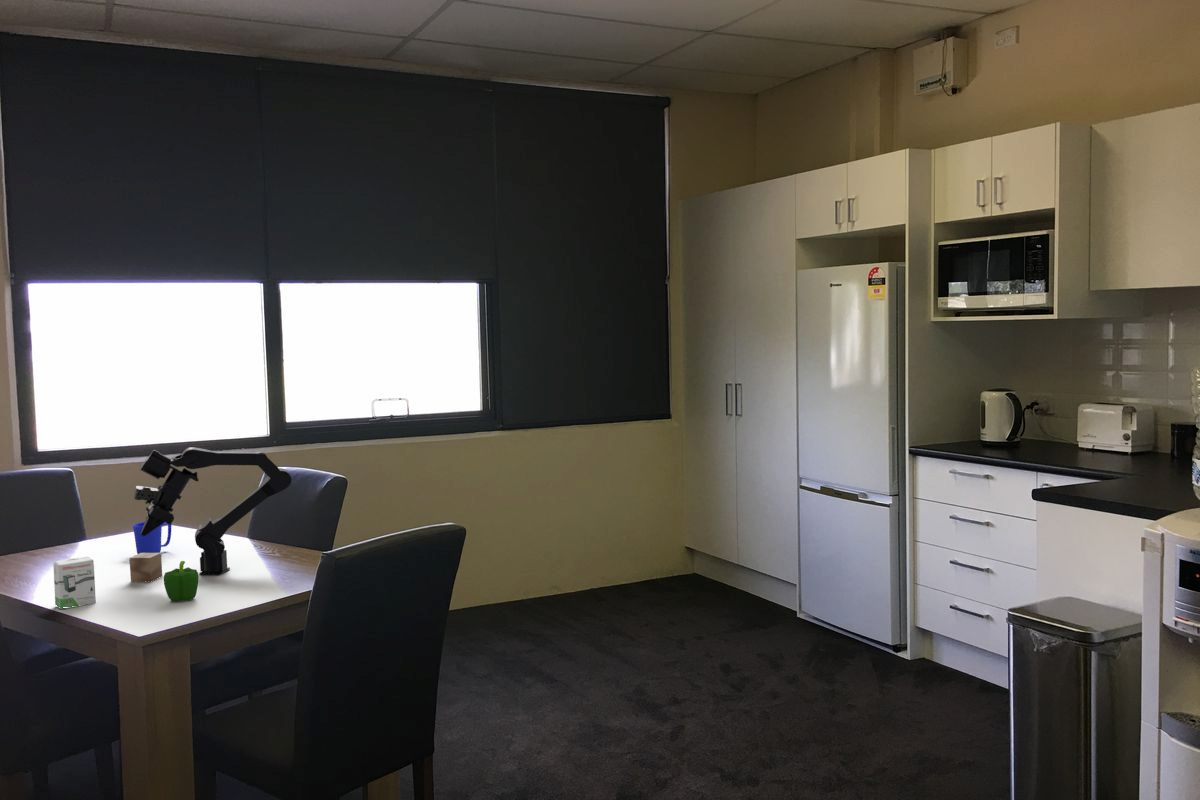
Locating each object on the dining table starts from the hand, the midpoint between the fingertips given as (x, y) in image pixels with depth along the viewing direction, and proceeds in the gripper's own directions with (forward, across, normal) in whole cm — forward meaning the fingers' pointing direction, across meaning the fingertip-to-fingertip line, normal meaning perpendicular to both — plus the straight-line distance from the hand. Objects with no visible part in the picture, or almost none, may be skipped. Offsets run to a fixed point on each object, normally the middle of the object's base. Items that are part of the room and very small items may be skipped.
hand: (142, 535), depth 274 cm
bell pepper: (+6, +28, +12) cm, 32 cm away
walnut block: (+11, 0, +8) cm, 13 cm away
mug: (+10, -34, +13) cm, 38 cm away
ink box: (+20, +18, -8) cm, 28 cm away
